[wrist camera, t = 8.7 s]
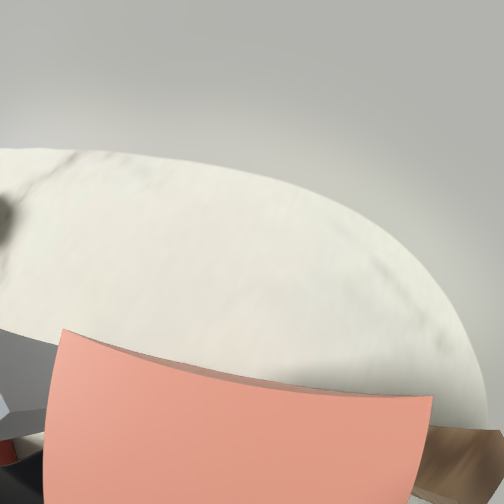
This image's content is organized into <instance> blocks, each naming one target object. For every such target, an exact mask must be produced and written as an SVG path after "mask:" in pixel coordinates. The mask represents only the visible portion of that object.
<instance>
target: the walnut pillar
mask: <svg viewBox="0 0 504 504" xmlns="http://www.w3.org/2000/svg"><path fill="white" fill-rule="evenodd" d="M503 478H504V437H503V435H502V434H501V432H500V430H475V429H458V428H447V427H437V426H428V431H427V436H426V441H425V445H424V449H423V453H422V457H421V461H420V465H419V469H418V472H417V475H416V479H415V482H414V485H413V488H412V491H411V494H412V495H414V496H416V497H419V498H421V499H423V500H426V501H428V502H431V503H433V504H487V503H488V501H489V500H490V498H491V497H492V496H493V494H494V492H495V491H496V489H497V488H498V486H499V485H500V483H501V481H502V480H503Z"/></svg>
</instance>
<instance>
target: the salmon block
mask: <svg viewBox="0 0 504 504" xmlns="http://www.w3.org/2000/svg"><path fill="white" fill-rule="evenodd" d="M432 401H433V396H395V395H375V394H361V393H350V392H340V391H331V390H323V389H315V388H308V387H302V386H296V385H290V384H284V383H278V382H273V381H266V380H260V379H254V378H249V377H243V376H238V375H233V374H228V373H223V372H219V371H214V370H210V369H206V368H201V367H197V366H193V365H189V364H185V363H180V362H175V361H171V360H166V359H162V358H158V357H154V356H150V355H146V354H142V353H138V352H134V351H131V350H127V349H124V348H120V347H117V346H113V345H110V344H107V343H103V342H100V341H97V340H94V339H91V338H88V337H85V336H82V335H79V334H76V333H74V332H71V331H68V330H65V329H63V330H62V334H61V338H60V342H59V346H58V350H57V354H56V359H55V363H54V368H53V373H52V379H51V384H50V390H49V397H48V404H47V412H46V421H45V431H44V446H43V493H44V504H407V502H408V500H409V497H410V494H411V491H412V488H413V485H414V482H415V479H416V475H417V472H418V469H419V465H420V461H421V457H422V453H423V449H424V445H425V441H426V436H427V431H428V426H429V420H430V414H431V408H432Z"/></svg>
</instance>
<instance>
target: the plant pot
mask: <svg viewBox="0 0 504 504" xmlns="http://www.w3.org/2000/svg"><path fill="white" fill-rule="evenodd" d="M17 461H18V460H17V457H16V454H15V450H14V447H13V444H12V441H11V439H7V440H2V441H0V466H5V465H9V464H13V463H15V462H17Z"/></svg>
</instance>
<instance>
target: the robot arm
mask: <svg viewBox="0 0 504 504" xmlns="http://www.w3.org/2000/svg"><path fill="white" fill-rule="evenodd" d="M0 504H44V493H43V449H42V450H41V451H39V452H37V453H34V454H32V455H30V456H28V457H26V458H24V459H22V460H20V461H17V462H15V463H13V464H9V465H5V466H0Z"/></svg>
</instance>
